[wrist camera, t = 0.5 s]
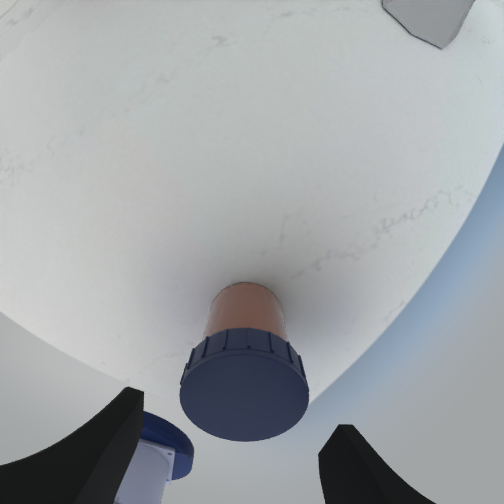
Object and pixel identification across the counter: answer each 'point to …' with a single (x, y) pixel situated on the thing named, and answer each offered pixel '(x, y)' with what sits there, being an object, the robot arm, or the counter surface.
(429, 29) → the flask
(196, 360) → the lid
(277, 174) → the counter surface
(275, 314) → the jar
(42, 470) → the robot arm
